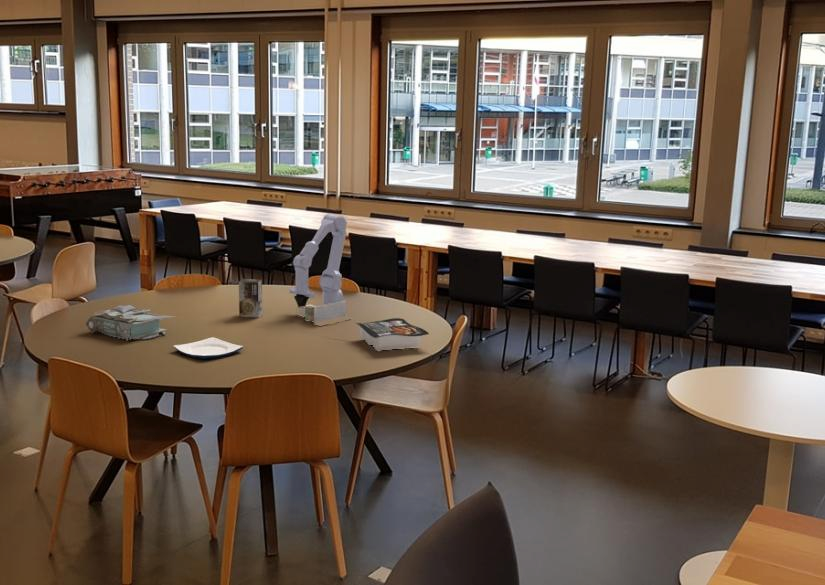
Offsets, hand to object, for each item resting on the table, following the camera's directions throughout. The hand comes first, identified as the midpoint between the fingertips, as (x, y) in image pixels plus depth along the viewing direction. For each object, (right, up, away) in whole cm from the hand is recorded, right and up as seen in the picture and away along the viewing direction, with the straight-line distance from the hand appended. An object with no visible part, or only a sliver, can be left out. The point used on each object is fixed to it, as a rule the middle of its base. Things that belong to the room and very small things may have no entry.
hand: (301, 311), depth 381 cm
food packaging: (+41, -13, -44) cm, 62 cm away
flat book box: (+6, -3, -4) cm, 8 cm away
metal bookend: (+15, -5, -13) cm, 20 cm away
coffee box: (-22, -2, -6) cm, 23 cm away
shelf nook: (+11, -4, -9) cm, 14 cm away
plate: (-27, -15, -65) cm, 71 cm away
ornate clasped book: (-64, -8, -42) cm, 77 cm away
